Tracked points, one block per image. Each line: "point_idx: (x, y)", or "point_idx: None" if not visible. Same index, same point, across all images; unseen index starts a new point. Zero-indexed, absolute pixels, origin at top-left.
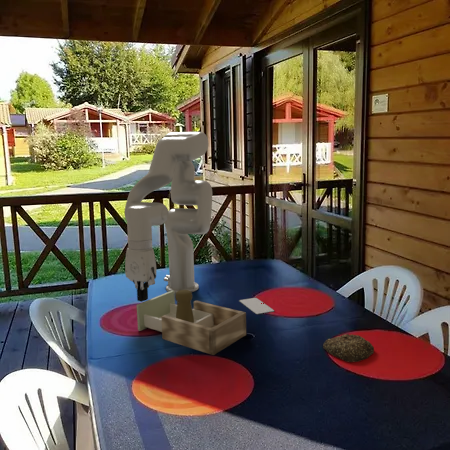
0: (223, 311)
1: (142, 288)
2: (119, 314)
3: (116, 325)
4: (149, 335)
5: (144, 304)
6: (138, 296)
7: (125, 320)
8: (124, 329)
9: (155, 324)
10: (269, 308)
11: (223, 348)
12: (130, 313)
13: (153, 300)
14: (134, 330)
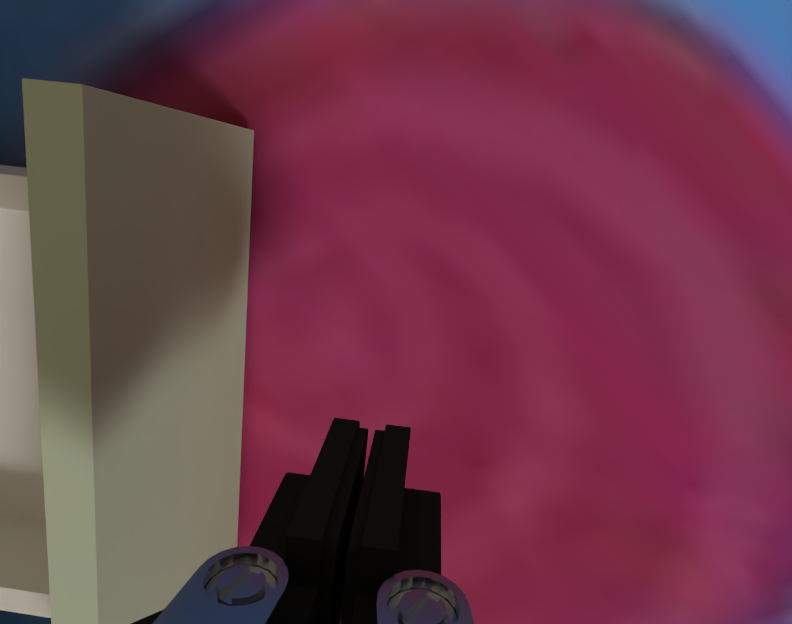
0: None
1: (224, 575)
2: (724, 385)
3: (559, 140)
4: None
5: (47, 225)
6: (379, 462)
7: (557, 288)
8: (409, 97)
9: (7, 169)
10: None
11: None
12: (628, 451)
13: (55, 431)
14: (301, 128)
